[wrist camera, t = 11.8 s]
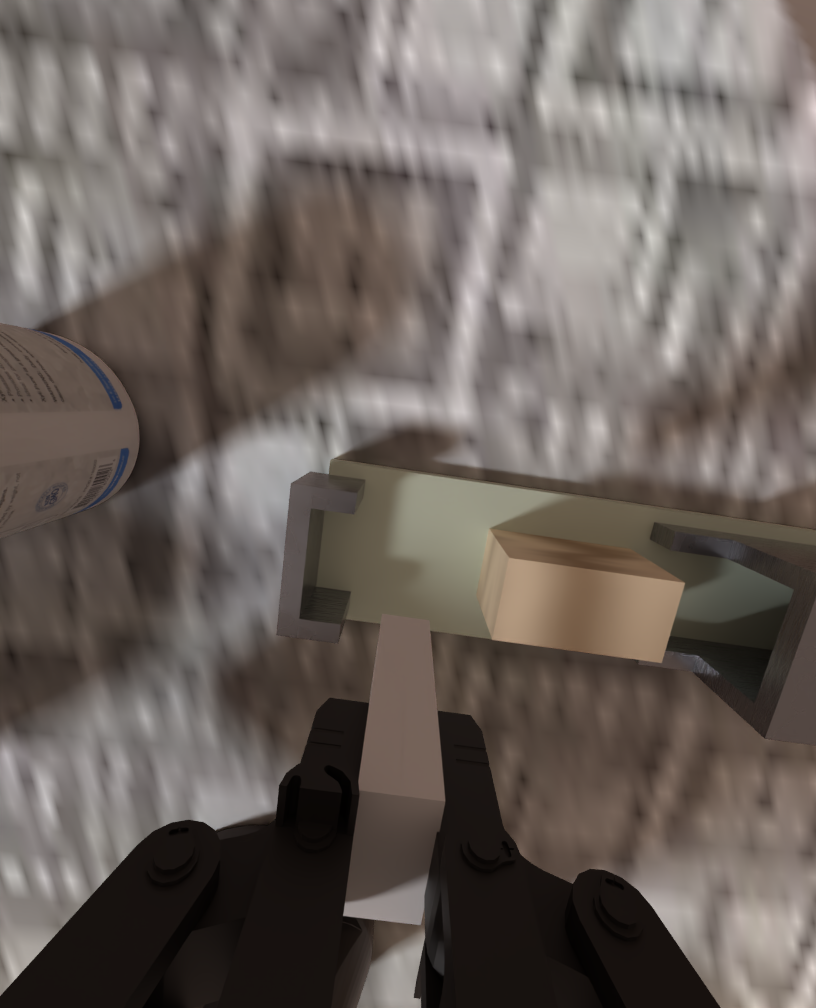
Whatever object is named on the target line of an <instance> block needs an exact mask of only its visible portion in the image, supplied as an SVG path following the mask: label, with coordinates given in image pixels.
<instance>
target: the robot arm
mask: <svg viewBox="0 0 816 1008" xmlns="http://www.w3.org/2000/svg"><path fill="white" fill-rule="evenodd" d="M424 907H425V941H424V946H423V951H422V956H421V961H420V966H419V970H418V975H417V980H416V987H415V993H414V998H419V999H420V998H421V1008H720V1006H719V1005H718V1003H717V1002H716V1000H715V999H714V997H713V996H712V994H711V993H710V992H709V990H708V989H707V987H706V986H705V984H704V983H703V981H702V980H701V978H700V977H699V975H698V974H697V972H696V971H695V970H694V968H693V967H692V965H691V964H690V962H689V961H688V959H687V958H686V956H685V955H684V953H683V952H682V950H681V949H680V947H679V946H678V945H677V943H676V942H675V940H674V939H673V937H672V936H671V934H670V933H669V931H668V930H667V928H666V927H665V925H664V924H663V922H662V921H661V920H660V918H659V917H658V915H657V914H656V912H655V911H654V909H653V908H652V906H651V905H650V904H649V903H648V902H647V900H646V899H645V898H644V897H643V896H642V895H641V893H640V892H639V891H638V890H637V889H636V888H634V887H633V886H632V885H630V884H629V883H628V882H626V881H625V880H624V879H623V878H621V877H619V876H617V875H614V874H612V873H610V872H608V871H605V870H595V869H589V870H587V871H585V872H582V873H580V874H579V875H578V876H577V878H576V880H575V882H574V883H573V884H572V883H569V882H567V881H565V880H563V879H561V878H558V877H556V876H554V875H552V874H550V873H547V872H545V871H543V870H541V869H540V868H538V867H536V866H534V865H533V864H531V863H530V862H529V861H528V860H526V859H525V858H524V857H523V856H521V854H520V852H519V850H518V848H517V845H516V843H515V842H514V840H513V839H512V838H511V837H510V836H509V834H508V833H507V832H506V831H505V830H504V827H503V824H502V820H501V815H500V811H499V806H498V802H497V797H496V793H495V788H494V783H493V779H492V774H491V770H490V767H489V761H488V756H487V752H486V747H485V743H484V738H483V734H482V731H481V729H480V728H479V726H478V725H477V724H476V722H475V721H474V720H473V718H472V717H471V715H465V714H457V713H450V712H442V711H437V700H436V689H435V678H434V667H433V655H432V644H431V633H430V621H429V620H424V619H417V618H409V617H402V616H395V615H388V614H382V617H381V624H380V631H379V638H378V645H377V651H376V658H375V665H374V672H373V679H372V686H371V692H370V699H369V703H364V702H357V701H349V700H342V699H334V698H329V699H328V700H327V701H326V702H325V703H324V704H323V705H322V706H321V707H320V708H319V709H318V710H317V712H316V715H315V718H314V721H313V725H312V729H311V731H310V734H309V737H308V741H307V745H306V747H305V750H304V754H303V757H302V760H301V763H300V764H298V765H296V766H295V767H294V768H293V769H291V770H290V771H289V772H287V773H286V775H285V777H284V778H283V780H282V782H281V783H280V785H279V794H278V804H277V813H276V819H275V820H274V821H273V822H271V823H270V824H269V825H268V826H263V825H255V826H242V827H236V828H231V829H227V830H223V831H220V832H217V833H216V831H215V830H214V829H213V828H211V827H210V826H208V825H207V824H206V823H204V822H199V821H193V820H185V821H179V822H173V823H170V824H168V825H166V826H164V827H162V828H159V829H157V830H155V831H153V832H152V833H151V834H150V835H149V836H147V837H146V838H145V839H144V840H143V841H141V842H140V843H139V844H138V845H137V846H136V847H135V848H134V849H133V850H132V851H131V853H130V854H129V855H128V856H127V857H126V858H125V859H124V860H123V861H122V862H121V864H120V865H119V866H118V867H117V868H116V869H115V870H114V871H113V872H112V874H111V875H110V876H109V877H108V878H107V879H106V880H105V881H104V882H103V883H102V885H101V886H100V887H99V888H98V889H97V890H96V891H95V892H94V893H93V894H92V896H91V897H90V898H89V899H88V900H87V901H86V902H85V903H84V904H83V905H82V907H81V908H80V909H79V910H78V911H77V912H76V913H75V914H74V915H73V917H72V918H71V919H70V920H69V921H68V922H67V923H66V924H65V925H64V926H63V928H62V929H61V930H60V931H59V932H58V933H57V934H56V935H55V936H54V937H53V939H52V940H51V941H50V942H49V943H48V944H47V945H46V946H45V947H44V948H43V950H42V951H41V952H40V953H39V954H38V955H37V956H36V957H35V958H34V960H33V961H32V962H31V963H30V964H29V965H28V966H27V967H26V968H25V969H24V971H23V972H22V973H21V974H20V975H19V976H18V977H17V978H16V979H15V980H14V982H13V983H12V984H11V985H10V986H9V987H8V988H7V989H6V990H5V991H4V993H3V994H2V995H1V996H0V1008H357V1005H358V1002H359V999H360V996H361V993H362V990H363V987H364V984H365V981H366V978H367V975H368V972H369V967H370V962H371V957H372V948H373V933H374V920H381V921H390V922H398V923H406V924H414V925H421V922H422V917H423V912H424Z"/></svg>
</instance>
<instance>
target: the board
mask: <svg viewBox="0 0 816 1008" xmlns="http://www.w3.org/2000/svg"><path fill="white" fill-rule="evenodd" d="M329 474H330V475H337V476H344V477H350V478H357V479H364V480H366V481H365V489H364V497H363V499H362V501H361V503H360V505H359V507H358V509H357V511H356V513H355V515H354V514H347V513H340V512H333V511H326V510H325V513H324V522H323V531H322V540H321V549H320V558H319V567H318V576H317V585H316V587H323V588H330V589H337V590H344V591H351V597H350V605H349V610H348V613H347V616H346V619H347V620H355V621H362V622H369V623H377V624H381V617H382V614H388V615H395V616H402V617H409V618H417V619H424V620H429V621H430V631H435V632H442V633H449V634H457V635H464V636H471V637H478V638H486V639H492V638H491V635H490V632H489V629H488V627H487V624H486V621H485V618H484V616H483V613H482V610H481V607H480V605H479V602H478V599H477V596H476V593H477V588H478V583H479V578H480V573H481V567H482V562H483V557H484V552H485V546H486V541H487V536H488V531H489V528H490V529H497V530H504V531H511V532H518V533H525V534H532V535H539V536H546V537H553V538H560V539H566V540H573V541H580V542H587V543H594V544H601V545H608V546H615V547H622V548H629V549H632V550H633V551H635V552H636V553H638V554H640V555H641V556H643V557H644V558H646V559H648V560H649V561H651V562H652V563H654V564H656V565H657V566H659V567H661V568H662V569H664V570H665V571H667V572H669V573H670V574H672V575H673V576H675V577H677V578H678V579H680V580H681V581H683V582H685V585H684V589H683V592H682V596H681V599H680V602H679V606H678V609H677V613H676V616H675V619H674V623H673V626H672V629H671V633H670V636H675V637H682V638H689V639H697V640H704V641H711V642H718V643H725V644H733V645H740V646H747V647H754V648H761V649H769V650H773V648H774V646H775V643H776V640H777V637H778V634H779V631H780V628H781V626H782V623H783V620H784V617H785V614H786V611H787V608H788V606H789V603H790V600H791V597H792V594H793V591H794V589H792V588H790V587H787V586H785V585H783V584H781V583H779V582H777V581H774V580H772V579H770V578H768V577H766V576H764V575H762V574H759V573H757V572H755V571H753V570H751V569H749V568H746V567H744V566H742V565H740V564H738V563H736V562H734V561H731V560H729V559H726V558H719V557H712V556H705V555H698V554H692V553H685V552H678V551H671V550H669V549H667V548H665V547H663V546H661V545H659V544H657V543H656V542H654V541H652V540H650V536H651V532H652V529H653V525H654V522H658V523H665V524H671V525H678V526H685V527H692V528H699V529H706V530H712V531H719V532H726V533H733V534H740V535H747V536H753V537H760V538H767V539H774V540H781V541H787V542H794V543H801V544H808V545H815V546H816V530H814V529H807V528H801V527H794V526H787V525H780V524H774V523H767V522H760V521H753V520H746V519H740V518H733V517H726V516H719V515H713V514H706V513H699V512H692V511H685V510H679V509H672V508H665V507H658V506H652V505H645V504H638V503H631V502H624V501H618V500H611V499H604V498H597V497H590V496H584V495H577V494H570V493H563V492H557V491H550V490H543V489H536V488H529V487H523V486H516V485H509V484H502V483H496V482H489V481H482V480H475V479H468V478H462V477H455V476H448V475H441V474H435V473H428V472H421V471H414V470H407V469H401V468H394V467H387V466H380V465H374V464H367V463H360V462H353V461H346V460H340V459H332V460H330V468H329Z"/></svg>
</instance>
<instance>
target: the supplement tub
mask: <svg viewBox="0 0 816 1008" xmlns="http://www.w3.org/2000/svg"><path fill="white" fill-rule="evenodd" d="M139 441H140V439H139V424H138V419H137V415H136V412H135V409H134V406H133V404H132V402H131V399H130V397H129V395H128V394H127V392H126V390H125V388H124V386H123V385H122V383H121V382H120V380H119V379H118V377H117V376H116V375H115V374H114V372H113V371H112V370H111V369H110V368H109V367H108V366H107V365H106V364H105V363H104V362H103V361H102V360H101V359H100V358H99V357H97V356H96V355H95V354H93V353H92V352H91V351H89V350H88V349H86V348H85V347H83V346H81V345H79V344H77V343H75V342H73V341H71V340H69V339H66V338H64V337H61V336H58V335H55V334H51V333H47V332H42V331H37V330H33V329H27V328H22V327H17V326H12V325H7V324H2V323H0V538H3V537H6V536H9V535H13V534H16V533H19V532H22V531H25V530H28V529H31V528H34V527H37V526H39V525H42V524H45V523H48V522H51V521H55V520H58V519H60V518H63V517H66V516H69V515H72V514H76V513H78V512H81V511H84V510H87V509H90V508H92V507H95V506H97V505H99V504H101V503H103V502H104V501H106V500H108V499H109V498H110V497H112V496H113V495H114V494H115V493H117V492H118V491H119V490H120V489H121V487H122V486H123V485H124V484H125V482H126V481H127V479H128V478H129V476H130V474H131V473H132V470H133V468H134V466H135V463H136V459H137V456H138V451H139Z"/></svg>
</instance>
